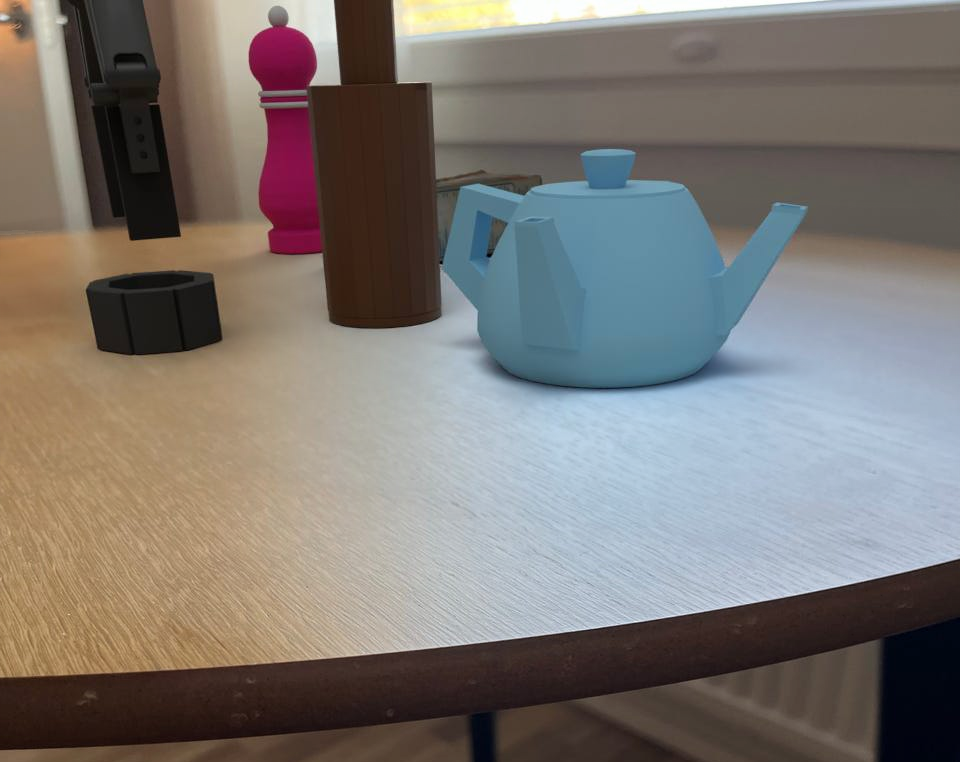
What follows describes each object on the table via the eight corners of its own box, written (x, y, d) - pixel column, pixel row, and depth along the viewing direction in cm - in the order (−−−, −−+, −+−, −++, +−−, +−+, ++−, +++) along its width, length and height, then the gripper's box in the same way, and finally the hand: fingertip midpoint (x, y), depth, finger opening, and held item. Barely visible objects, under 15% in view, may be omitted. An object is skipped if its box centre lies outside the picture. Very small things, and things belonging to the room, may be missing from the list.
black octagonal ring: (73, 346, 65) (60, 287, 63) (163, 322, 70) (154, 267, 68) (158, 359, 61) (147, 296, 59) (246, 333, 67) (238, 275, 65)
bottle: (305, 321, 69) (270, -11, 60) (374, 301, 75) (351, -5, 66) (398, 332, 66) (376, -20, 56) (462, 310, 71) (451, -13, 62)
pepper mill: (305, 257, 94) (279, 1, 85) (248, 252, 98) (217, 6, 88) (355, 246, 99) (336, 4, 90) (299, 241, 103) (275, 9, 93)
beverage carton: (322, 263, 91) (314, 182, 88) (498, 241, 100) (497, 167, 97) (366, 274, 85) (359, 187, 82) (548, 249, 94) (549, 171, 91)
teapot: (666, 322, 66) (676, 136, 61) (798, 377, 54) (825, 149, 48) (438, 345, 62) (429, 149, 57) (523, 410, 50) (521, 166, 44)
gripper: (166, -295, 43) (241, 244, 53) (121, -167, 63) (181, 204, 74) (-28, -309, 41) (89, 257, 51) (-10, -171, 61) (71, 212, 71)
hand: (144, 226), depth 62 cm, fingers open, 13 cm apart
